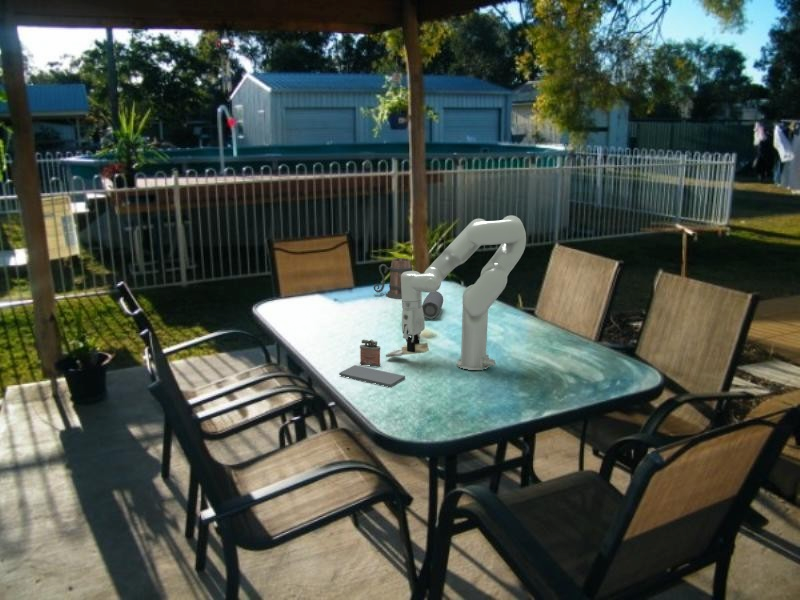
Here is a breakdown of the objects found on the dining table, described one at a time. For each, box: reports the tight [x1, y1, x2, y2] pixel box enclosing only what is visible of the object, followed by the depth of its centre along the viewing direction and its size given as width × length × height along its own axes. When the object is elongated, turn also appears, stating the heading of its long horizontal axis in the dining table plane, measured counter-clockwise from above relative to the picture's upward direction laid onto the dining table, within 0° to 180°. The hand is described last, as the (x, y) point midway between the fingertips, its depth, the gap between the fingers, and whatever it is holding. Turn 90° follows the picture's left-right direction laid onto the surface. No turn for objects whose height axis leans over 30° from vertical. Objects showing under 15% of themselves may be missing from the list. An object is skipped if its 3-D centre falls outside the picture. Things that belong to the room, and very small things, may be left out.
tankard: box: [373, 257, 413, 300], centre depth 363 cm, size 24×17×20 cm
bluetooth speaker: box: [422, 290, 444, 319], centre depth 326 cm, size 23×9×10 cm, turn 171°
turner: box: [385, 342, 430, 358], centre depth 259 cm, size 17×6×3 cm, turn 59°
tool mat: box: [338, 364, 406, 388], centre depth 243 cm, size 22×10×1 cm, turn 59°
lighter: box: [359, 339, 381, 367], centre depth 255 cm, size 8×3×10 cm, turn 74°
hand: (413, 349), depth 257 cm, fingers closed on turner, 3 cm apart
